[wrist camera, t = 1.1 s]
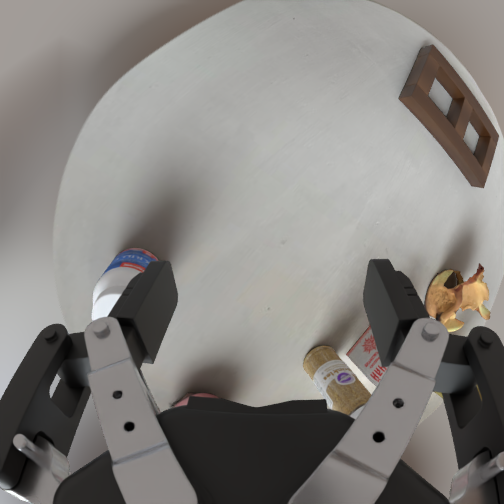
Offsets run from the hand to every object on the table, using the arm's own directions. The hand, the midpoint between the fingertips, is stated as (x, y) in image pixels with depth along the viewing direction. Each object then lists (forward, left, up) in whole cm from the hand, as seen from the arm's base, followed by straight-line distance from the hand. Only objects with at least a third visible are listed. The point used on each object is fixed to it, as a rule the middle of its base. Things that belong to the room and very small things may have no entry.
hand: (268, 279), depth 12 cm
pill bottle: (-4, -9, -18) cm, 20 cm away
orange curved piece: (+35, +6, -18) cm, 39 cm away
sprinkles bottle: (+20, -10, -18) cm, 28 cm away
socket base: (+21, +28, -17) cm, 39 cm away
